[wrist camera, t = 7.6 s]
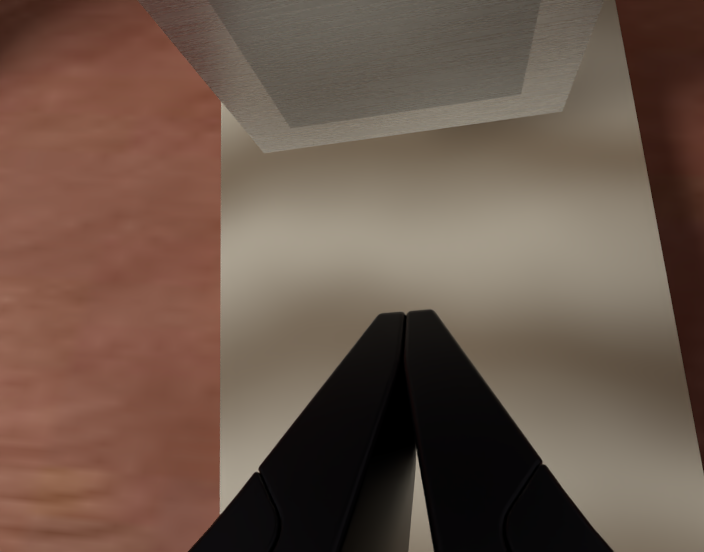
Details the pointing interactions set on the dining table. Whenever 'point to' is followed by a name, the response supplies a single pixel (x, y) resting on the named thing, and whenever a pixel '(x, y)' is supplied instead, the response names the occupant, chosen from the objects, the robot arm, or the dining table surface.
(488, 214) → the l-shaped wooden stand
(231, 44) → the grey cube
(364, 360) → the robot arm
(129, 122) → the dining table surface
